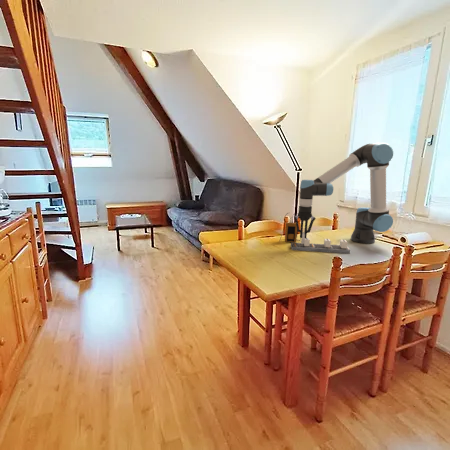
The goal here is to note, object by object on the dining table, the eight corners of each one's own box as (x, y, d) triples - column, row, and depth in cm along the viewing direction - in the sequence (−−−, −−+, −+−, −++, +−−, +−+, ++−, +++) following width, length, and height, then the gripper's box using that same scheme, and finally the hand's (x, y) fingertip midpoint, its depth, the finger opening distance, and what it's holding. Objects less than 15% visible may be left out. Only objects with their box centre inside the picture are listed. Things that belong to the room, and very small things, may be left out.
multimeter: (299, 238, 203) (301, 210, 198) (301, 242, 193) (303, 213, 189) (278, 237, 204) (279, 210, 200) (279, 242, 195) (281, 212, 190)
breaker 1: (308, 244, 183) (308, 237, 182) (309, 246, 178) (309, 239, 177) (303, 243, 183) (303, 237, 182) (304, 246, 178) (304, 239, 177)
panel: (345, 248, 182) (346, 245, 182) (350, 253, 172) (350, 250, 172) (290, 245, 187) (290, 242, 187) (291, 250, 178) (291, 246, 177)
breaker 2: (328, 245, 181) (329, 238, 180) (330, 247, 176) (331, 240, 175) (323, 244, 181) (324, 238, 180) (325, 247, 176) (325, 240, 175)
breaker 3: (344, 246, 179) (345, 239, 178) (346, 248, 175) (347, 241, 174) (339, 245, 180) (340, 239, 179) (341, 248, 175) (342, 241, 174)
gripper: (315, 205, 178) (312, 241, 183) (294, 204, 180) (291, 240, 185) (317, 207, 171) (314, 245, 176) (294, 206, 173) (292, 244, 178)
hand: (302, 243), depth 181 cm, fingers closed
